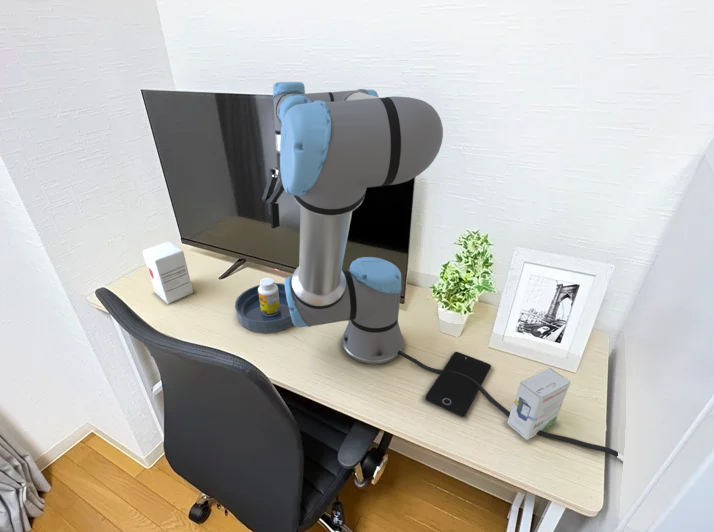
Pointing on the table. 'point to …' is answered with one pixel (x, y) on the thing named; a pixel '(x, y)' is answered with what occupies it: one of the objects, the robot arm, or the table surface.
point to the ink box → (538, 402)
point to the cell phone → (458, 383)
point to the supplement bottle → (269, 297)
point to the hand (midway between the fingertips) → (294, 232)
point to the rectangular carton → (168, 271)
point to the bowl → (252, 314)
